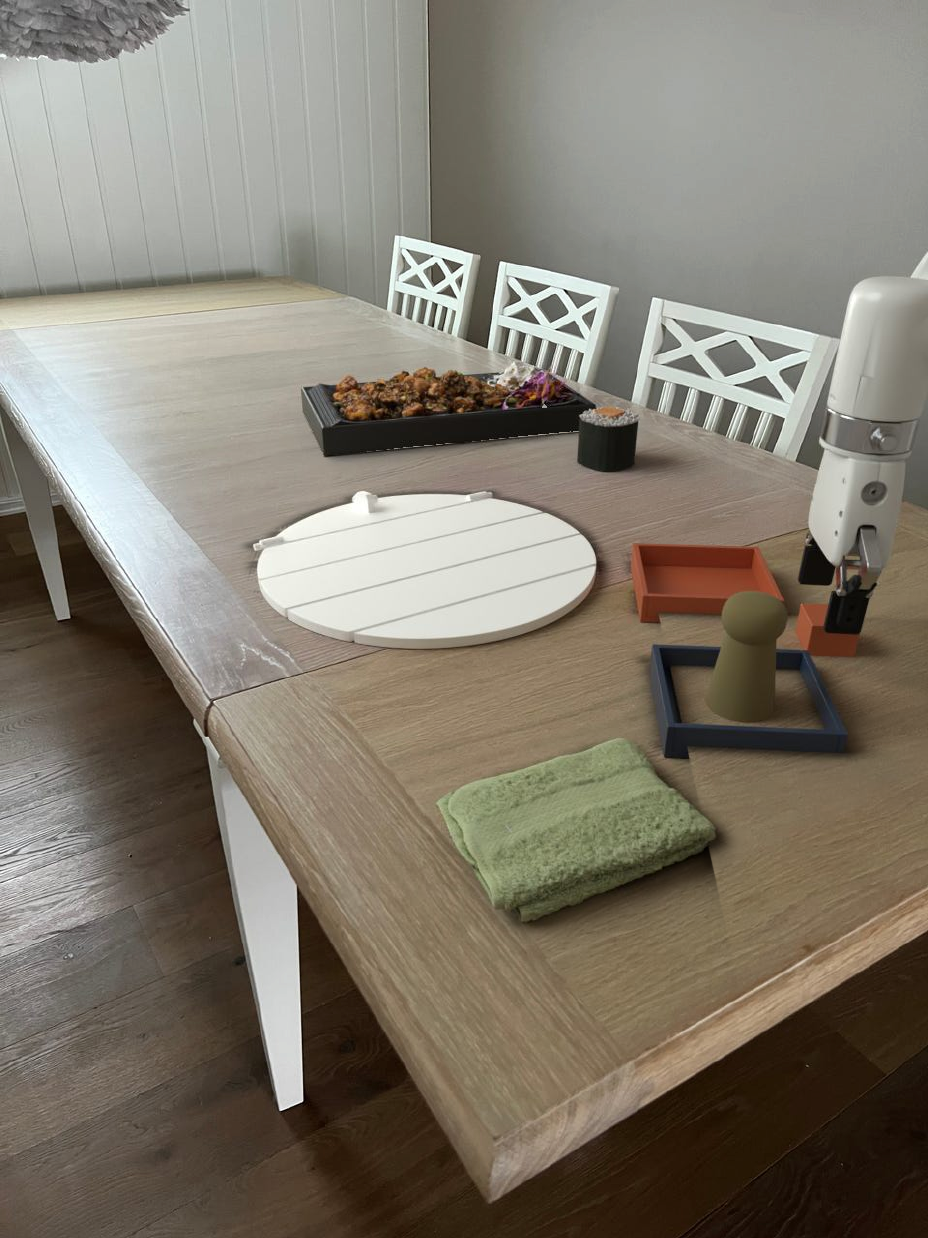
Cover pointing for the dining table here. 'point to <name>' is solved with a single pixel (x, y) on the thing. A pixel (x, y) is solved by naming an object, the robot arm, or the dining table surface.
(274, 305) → the dining table surface
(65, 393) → the dining table surface
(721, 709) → the olive pawn
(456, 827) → the washcloth
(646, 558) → the terracotta tray
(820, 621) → the terracotta block
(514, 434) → the food platter
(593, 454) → the sushi
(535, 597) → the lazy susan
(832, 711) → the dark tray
